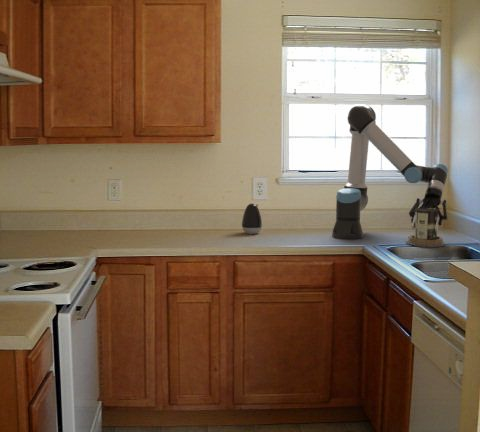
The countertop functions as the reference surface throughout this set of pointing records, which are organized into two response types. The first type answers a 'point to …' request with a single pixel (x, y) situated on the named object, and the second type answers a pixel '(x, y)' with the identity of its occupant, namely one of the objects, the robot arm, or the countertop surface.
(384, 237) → the countertop surface
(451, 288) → the countertop surface
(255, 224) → the black egg-shaped speaker
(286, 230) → the countertop surface
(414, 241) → the collar
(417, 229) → the coffee can
